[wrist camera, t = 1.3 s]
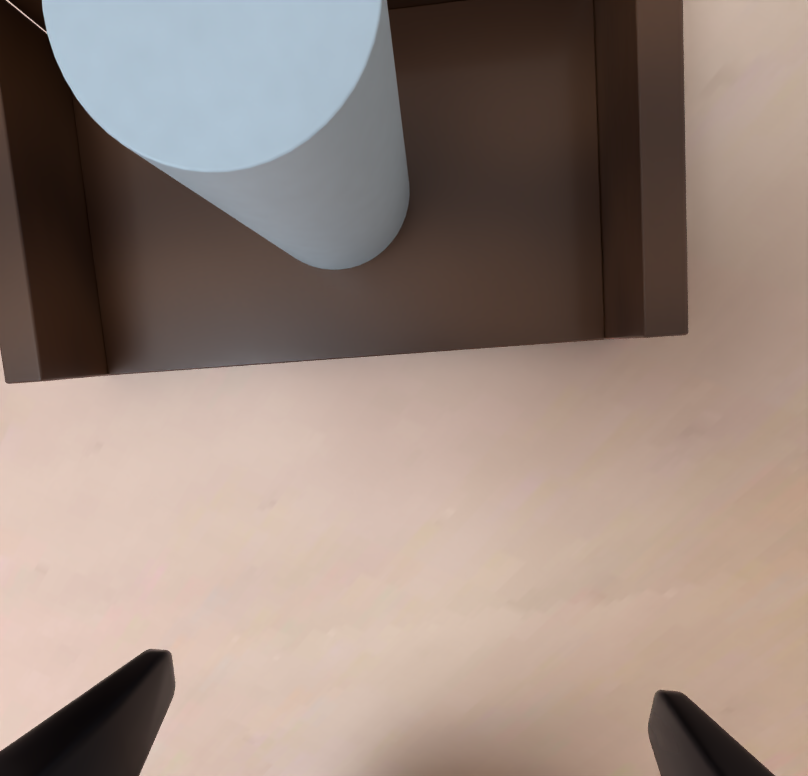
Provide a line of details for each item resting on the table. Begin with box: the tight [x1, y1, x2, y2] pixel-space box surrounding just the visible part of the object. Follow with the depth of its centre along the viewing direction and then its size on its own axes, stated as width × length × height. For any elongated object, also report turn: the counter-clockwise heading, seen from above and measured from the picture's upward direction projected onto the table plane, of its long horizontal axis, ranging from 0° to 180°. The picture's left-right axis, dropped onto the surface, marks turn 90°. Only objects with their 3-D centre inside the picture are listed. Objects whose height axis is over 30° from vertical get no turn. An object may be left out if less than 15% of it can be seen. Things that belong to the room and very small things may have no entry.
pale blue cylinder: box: [42, 0, 410, 270], centre depth 14 cm, size 8×6×11 cm
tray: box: [0, 0, 688, 384], centre depth 18 cm, size 16×25×6 cm, turn 94°
